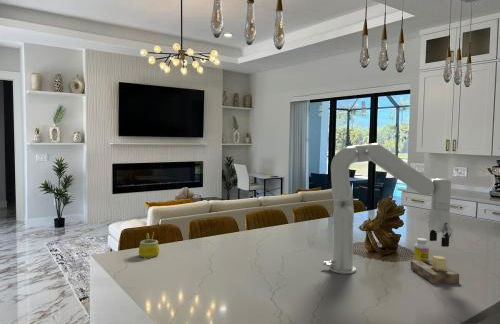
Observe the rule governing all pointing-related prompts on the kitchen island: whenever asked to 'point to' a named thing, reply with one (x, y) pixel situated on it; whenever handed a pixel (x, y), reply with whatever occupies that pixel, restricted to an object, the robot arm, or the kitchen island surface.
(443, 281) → the socket block
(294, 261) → the kitchen island surface
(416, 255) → the supplement bottle
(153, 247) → the yellow pot
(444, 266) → the peg
